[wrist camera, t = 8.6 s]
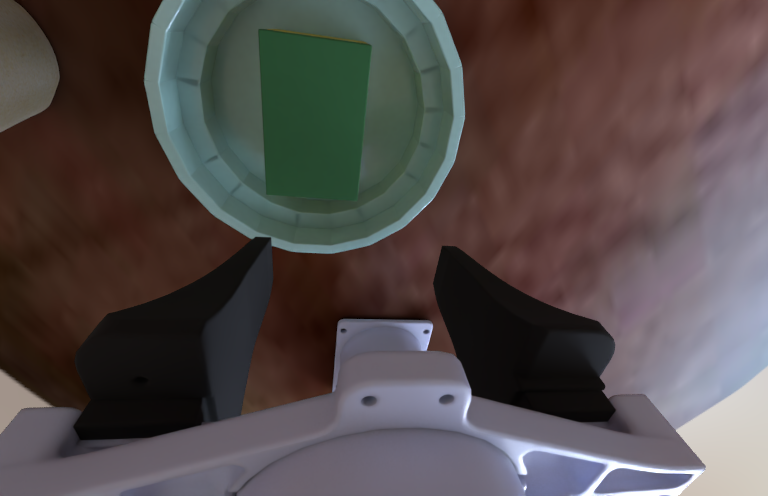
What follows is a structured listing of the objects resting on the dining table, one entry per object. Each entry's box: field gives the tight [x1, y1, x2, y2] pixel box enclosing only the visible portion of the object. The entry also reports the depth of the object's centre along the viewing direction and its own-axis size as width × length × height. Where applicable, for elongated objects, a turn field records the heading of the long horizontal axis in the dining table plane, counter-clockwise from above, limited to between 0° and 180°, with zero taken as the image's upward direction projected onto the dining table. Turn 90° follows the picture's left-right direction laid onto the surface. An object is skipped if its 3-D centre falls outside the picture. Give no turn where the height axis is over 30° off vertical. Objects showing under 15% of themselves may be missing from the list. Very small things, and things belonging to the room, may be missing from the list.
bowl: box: [144, 0, 465, 254], centre depth 18 cm, size 14×14×4 cm
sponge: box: [258, 29, 372, 201], centre depth 18 cm, size 7×4×4 cm, turn 172°
